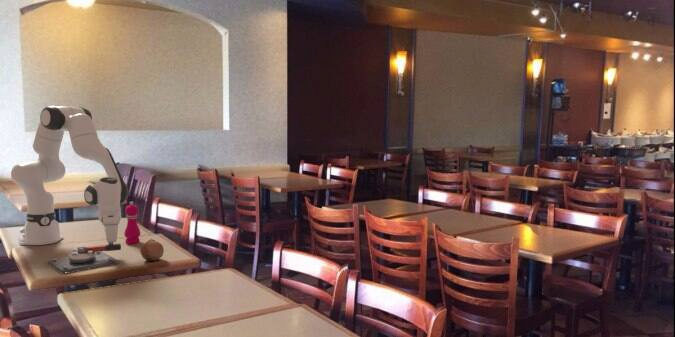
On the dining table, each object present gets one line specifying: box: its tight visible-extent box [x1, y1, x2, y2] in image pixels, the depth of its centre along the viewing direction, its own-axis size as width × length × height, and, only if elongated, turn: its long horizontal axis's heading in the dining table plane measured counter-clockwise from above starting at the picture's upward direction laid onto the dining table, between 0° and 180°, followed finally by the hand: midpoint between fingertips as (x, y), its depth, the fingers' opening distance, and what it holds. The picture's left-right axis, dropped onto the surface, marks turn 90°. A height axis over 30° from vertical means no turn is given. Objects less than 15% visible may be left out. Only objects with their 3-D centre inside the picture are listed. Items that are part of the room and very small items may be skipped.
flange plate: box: [47, 251, 119, 274], centre depth 234 cm, size 18×22×2 cm
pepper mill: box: [123, 201, 141, 245], centre depth 268 cm, size 7×7×20 cm
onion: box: [140, 238, 165, 262], centre depth 240 cm, size 10×9×10 cm
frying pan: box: [68, 243, 122, 263], centre depth 235 cm, size 20×10×5 cm, turn 116°
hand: (110, 247), depth 240 cm, fingers closed
